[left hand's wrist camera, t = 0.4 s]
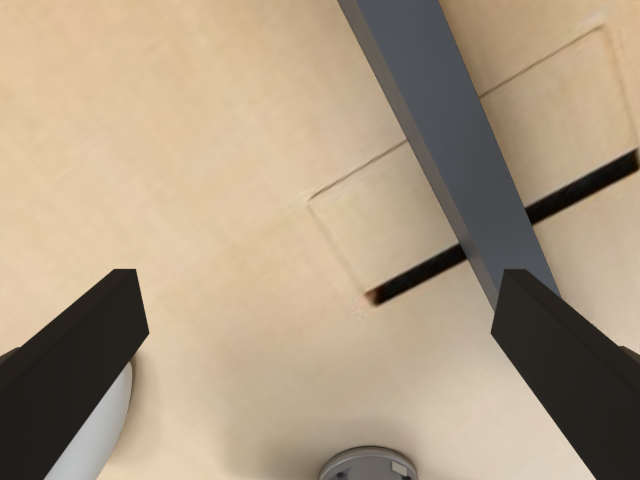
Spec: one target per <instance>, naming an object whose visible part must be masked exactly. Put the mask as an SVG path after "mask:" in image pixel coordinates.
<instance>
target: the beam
mask: <svg viewBox="0 0 640 480" xmlns="http://www.w3.org/2000/svg"><path fill="white" fill-rule="evenodd" d="M337 1H338V3H339V5H340V7H341V9H342V11H343V13H344V15H345V17H346V19H347V21H348V23H349V25H350V27H351V29H352V31H353V32H354V34H355V36H356V38H357V40H358V42H359V44H360V46H361V48H362V50H363V52H364V54H365V56H366V58H367V60H368V62H369V64H370V66H371V68H372V70H373V72H374V74H375V76H376V78H377V80H378V82H379V84H380V86H381V88H382V90H383V92H384V94H385V96H386V98H387V100H388V102H389V104H390V106H391V108H392V110H393V112H394V114H395V116H396V118H397V120H398V122H399V124H400V126H401V128H402V130H403V132H404V134H405V136H406V138H407V140H408V142H409V144H410V146H411V148H412V150H413V152H414V153H415V155H416V157H417V159H418V161H419V163H420V165H421V167H422V169H423V171H424V173H425V175H426V177H427V179H428V181H429V183H430V185H431V187H432V189H433V191H434V193H435V195H436V197H437V199H438V201H439V203H440V205H441V207H442V209H443V211H444V213H445V215H446V217H447V219H448V221H449V223H450V225H451V227H452V229H453V231H454V233H455V235H456V237H457V239H458V241H459V243H460V245H461V247H462V249H463V251H464V253H465V255H466V257H467V259H468V261H469V263H470V265H471V267H472V269H473V271H474V273H475V274H476V276H477V278H478V280H479V282H480V284H481V286H482V288H483V290H484V292H485V294H486V296H487V298H488V300H489V302H490V304H491V306H492V308H493V310H494V312H495V310H496V305H497V301H498V296H499V291H500V286H501V282H502V277H503V272H504V269H526V270H528V271H529V272H530V273H531V274H532V275H534V276H535V277H536V278H537V279H538V280H540V281H541V282H542V283H543V284H544V285H546V286H547V287H548V288H549V289H550V290H552V291H553V292H554V293H555V294H556V295H558V296H559V297H560V298H561V295H560V293H559V291H558V288H557V286H556V283H555V281H554V279H553V276H552V274H551V271H550V269H549V267H548V264H547V262H546V259H545V257H544V254H543V252H542V250H541V247H540V245H539V242H538V240H537V238H536V235H535V233H534V230H533V228H532V226H531V223H530V221H529V218H528V216H527V213H526V211H525V209H524V206H523V204H522V201H521V199H520V197H519V194H518V192H517V189H516V187H515V185H514V182H513V180H512V177H511V175H510V172H509V170H508V168H507V165H506V163H505V160H504V158H503V156H502V153H501V151H500V148H499V146H498V144H497V141H496V139H495V136H494V134H493V132H492V129H491V127H490V124H489V122H488V119H487V117H486V115H485V112H484V110H483V107H482V105H481V103H480V100H479V98H478V95H477V93H476V91H475V88H474V86H473V83H472V81H471V78H470V76H469V74H468V71H467V69H466V66H465V64H464V62H463V59H462V57H461V54H460V52H459V50H458V47H457V45H456V42H455V40H454V38H453V35H452V33H451V30H450V28H449V25H448V23H447V21H446V18H445V16H444V13H443V11H442V9H441V6H440V4H439V1H438V0H337ZM561 299H562V298H561Z"/></svg>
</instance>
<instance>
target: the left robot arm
mask: <svg viewBox="0 0 640 480" xmlns="http://www.w3.org/2000/svg"><path fill="white" fill-rule="evenodd" d="M148 335H149V329H148V324H147V319H146V315H145V310H144V305H143V301H142V296H141V291H140V286H139V282H138V277H137V272H136V269H114V270H112V271H111V272H110V273H109V274H108V275H106V276H105V277H104V278H103V279H102V280H100V281H99V282H98V283H97V284H96V285H94V286H93V287H92V288H91V289H90V290H88V291H87V292H86V293H85V294H84V295H82V296H81V297H80V298H79V299H78V300H76V301H75V302H74V303H73V304H72V305H70V306H69V307H68V308H67V309H66V310H64V311H63V312H62V313H61V314H60V315H58V316H57V317H56V318H55V319H54V320H52V321H51V322H50V323H49V324H48V325H46V326H45V327H44V328H43V329H42V330H40V331H39V332H38V333H37V334H36V335H34V336H33V337H32V338H31V339H30V340H28V341H27V342H26V343H25V344H24V345H22V346H21V347H17V348H15V349H13V350H11V351H9V352H7V353H6V354H4V355H2V356H0V480H44V479H45V477H46V476H47V474H48V473H49V472H50V470H51V469H52V467H53V466H54V465H55V463H56V462H57V461H58V459H59V458H60V456H61V455H62V454H63V452H64V451H65V449H66V448H67V447H68V445H69V444H70V443H71V441H72V440H73V438H74V437H75V436H76V434H77V433H78V432H79V430H80V429H81V427H82V426H83V425H84V423H85V422H86V420H87V419H88V418H89V416H90V415H91V414H92V412H93V411H94V409H95V408H96V407H97V405H98V404H99V402H100V401H101V400H102V398H103V397H104V396H105V394H106V393H107V391H108V390H109V389H110V387H111V386H112V384H113V383H114V382H115V380H116V379H117V378H118V376H119V375H120V373H121V372H122V371H123V369H124V368H125V366H126V365H127V364H128V362H129V361H130V360H131V358H132V357H133V355H134V354H135V353H136V351H137V350H138V348H139V347H140V346H141V344H142V343H143V342H144V340H145V339H146V337H147V336H148ZM491 335H492V336H493V337H494V339H495V340H496V342H497V343H498V344H499V346H500V347H501V348H502V350H503V351H504V353H505V354H506V355H507V357H508V358H509V360H510V361H511V362H512V364H513V365H514V366H515V368H516V369H517V371H518V372H519V373H520V375H521V376H522V378H523V379H524V380H525V382H526V383H527V384H528V386H529V387H530V389H531V390H532V391H533V393H534V394H535V396H536V397H537V398H538V400H539V401H540V402H541V404H542V405H543V407H544V408H545V409H546V411H547V412H548V414H549V415H550V416H551V418H552V419H553V420H554V422H555V423H556V425H557V426H558V427H559V429H560V430H561V432H562V433H563V434H564V436H565V437H566V438H567V440H568V441H569V443H570V444H571V445H572V447H573V448H574V449H575V451H576V452H577V454H578V455H579V456H580V458H581V459H582V461H583V462H584V463H585V465H586V466H587V467H588V469H589V470H590V472H591V473H592V474H593V476H594V477H595V479H596V480H640V355H639V354H637V353H635V352H634V351H632V350H630V349H628V348H626V347H624V346H618V345H616V344H615V343H614V342H613V341H612V340H610V339H609V338H608V337H607V336H606V335H604V334H603V333H602V332H601V331H600V330H598V329H597V328H596V327H595V326H594V325H592V324H591V323H590V322H589V321H588V320H586V319H585V318H584V317H583V316H582V315H580V314H579V313H578V312H577V311H576V310H574V309H573V308H572V307H571V306H570V305H568V304H567V303H566V302H565V301H564V300H562V299H561V298H560V297H559V296H558V295H556V294H555V293H554V292H553V291H552V290H550V289H549V288H548V287H547V286H546V285H544V284H543V283H542V282H541V281H540V280H538V279H537V278H536V277H535V276H534V275H532V274H531V273H530V272H529V271H528V270H526V269H504V272H503V277H502V282H501V286H500V291H499V296H498V301H497V305H496V310H495V315H494V319H493V324H492V329H491ZM318 480H418V478H417V474H416V471H415V468H414V466H413V465H412V464H411V462H410V461H409V460H408V459H407V458H405V457H404V456H402V455H401V454H399V453H397V452H395V451H392V450H389V449H385V448H379V447H361V448H355V449H351V450H348V451H345V452H342V453H340V454H338V455H336V456H335V457H333V458H332V459H331V460H329V461H328V462H327V463H326V464H325V465H324V467H323V468H322V470H321V472H320V474H319V478H318Z"/></svg>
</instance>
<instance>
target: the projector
mask: <svg viewBox="0 0 640 480" xmlns="http://www.w3.org/2000/svg"><path fill="white" fill-rule="evenodd" d="M131 388H132V366H131V364H130V362H128V364H127V365H126V366H125V368H124V369H123V371H122V372H121V373H120V375H119V376H118V378H117V379H116V380H115V382H114V383H113V384H112V386H111V387H110V389H109V390H108V391H107V393H106V394H105V396H104V397H103V398H102V400H101V401H100V402H99V404H98V405H97V407H96V408H95V409H94V411H93V412H92V414H91V415H90V416H89V418H88V419H87V420H86V422H85V423H84V425H83V426H82V427H81V429H80V430H79V432H78V433H77V434H76V436H75V437H74V438H73V440H72V441H71V443H70V444H69V445H68V447H67V448H66V449H65V451H64V452H63V454H62V455H61V456H60V458H59V459H58V461H57V462H56V463H55V465H54V466H53V467H52V469H51V470H50V472H49V473H48V474H47V476H46V477H45V479H44V480H96V479H97V477H98V476H99V474H100V473H101V471H102V469H103V468H104V466H105V464H106V462H107V461H108V459H109V457H110V455H111V453H112V451H113V449H114V447H115V445H116V443H117V441H118V438H119V436H120V434H121V431H122V428H123V425H124V422H125V419H126V415H127V411H128V407H129V402H130V396H131Z"/></svg>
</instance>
